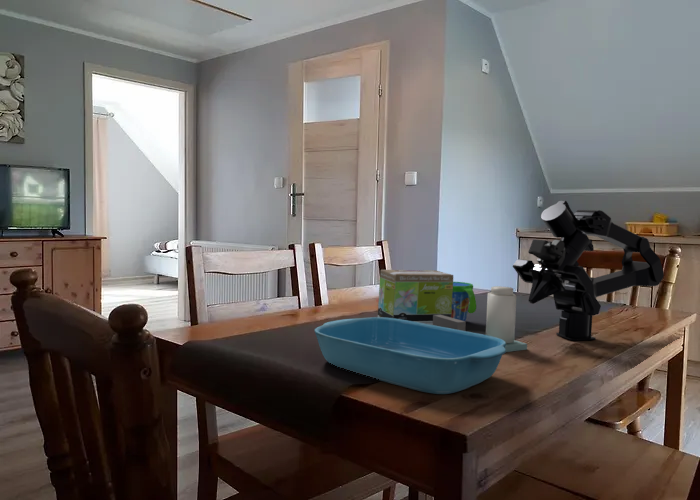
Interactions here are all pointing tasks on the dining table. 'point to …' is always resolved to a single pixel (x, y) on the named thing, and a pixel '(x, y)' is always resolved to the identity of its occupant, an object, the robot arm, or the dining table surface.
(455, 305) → the snack cup
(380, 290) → the tea box
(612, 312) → the dining table surface
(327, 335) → the casserole dish
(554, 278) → the robot arm
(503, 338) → the white pill bottle
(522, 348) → the stud rail
